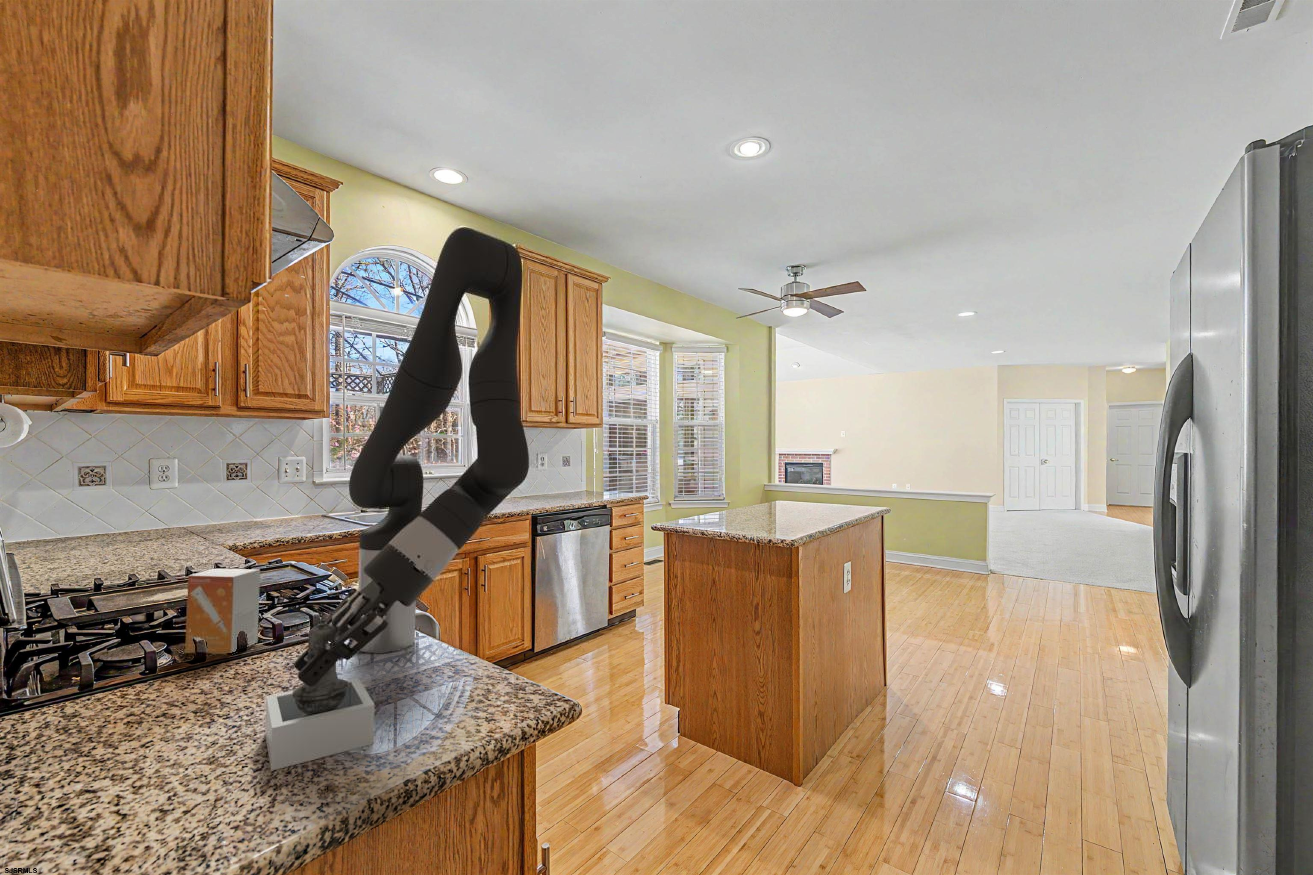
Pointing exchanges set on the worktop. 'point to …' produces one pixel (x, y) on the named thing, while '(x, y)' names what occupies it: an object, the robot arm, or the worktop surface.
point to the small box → (222, 608)
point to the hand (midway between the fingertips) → (302, 675)
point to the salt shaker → (329, 687)
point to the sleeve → (317, 727)
